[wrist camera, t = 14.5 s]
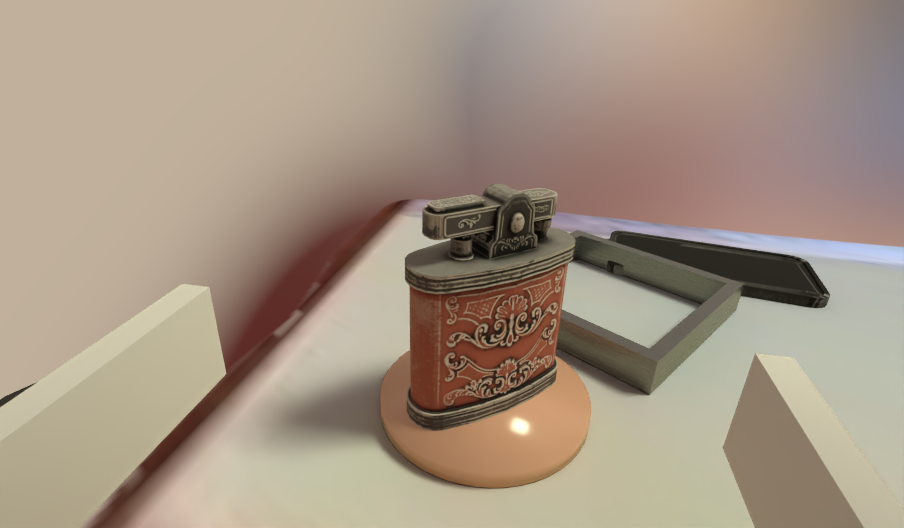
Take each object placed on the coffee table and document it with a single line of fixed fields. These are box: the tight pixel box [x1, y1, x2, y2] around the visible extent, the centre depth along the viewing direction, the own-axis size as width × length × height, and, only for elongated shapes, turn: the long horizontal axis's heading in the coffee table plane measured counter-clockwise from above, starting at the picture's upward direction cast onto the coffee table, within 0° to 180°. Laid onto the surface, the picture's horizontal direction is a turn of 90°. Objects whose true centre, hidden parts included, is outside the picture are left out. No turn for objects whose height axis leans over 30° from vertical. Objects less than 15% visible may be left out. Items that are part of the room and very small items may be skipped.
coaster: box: [380, 350, 591, 488], centre depth 24 cm, size 10×10×1 cm
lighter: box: [405, 183, 575, 431], centre depth 22 cm, size 8×3×10 cm, turn 121°
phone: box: [606, 231, 830, 308], centre depth 40 cm, size 8×1×15 cm
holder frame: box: [556, 230, 744, 394], centre depth 33 cm, size 13×13×2 cm
